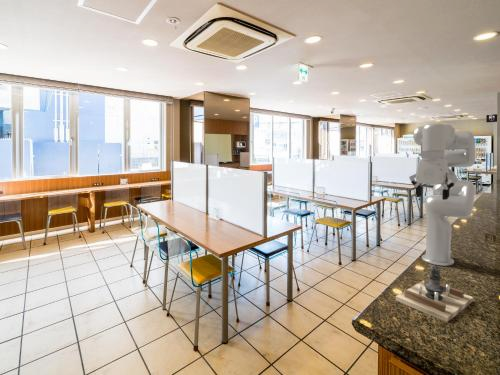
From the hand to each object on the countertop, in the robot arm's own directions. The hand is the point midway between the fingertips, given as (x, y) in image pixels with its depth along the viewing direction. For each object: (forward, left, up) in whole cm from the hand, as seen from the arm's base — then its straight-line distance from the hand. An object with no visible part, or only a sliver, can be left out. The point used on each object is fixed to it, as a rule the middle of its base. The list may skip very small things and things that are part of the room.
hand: (431, 197), depth 110 cm
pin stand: (+19, +10, -33) cm, 40 cm away
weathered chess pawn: (+19, +10, -32) cm, 38 cm away
